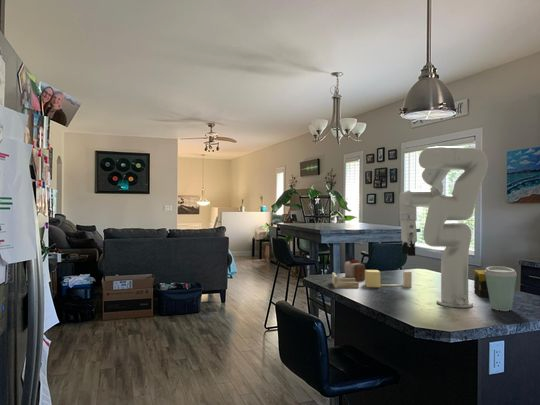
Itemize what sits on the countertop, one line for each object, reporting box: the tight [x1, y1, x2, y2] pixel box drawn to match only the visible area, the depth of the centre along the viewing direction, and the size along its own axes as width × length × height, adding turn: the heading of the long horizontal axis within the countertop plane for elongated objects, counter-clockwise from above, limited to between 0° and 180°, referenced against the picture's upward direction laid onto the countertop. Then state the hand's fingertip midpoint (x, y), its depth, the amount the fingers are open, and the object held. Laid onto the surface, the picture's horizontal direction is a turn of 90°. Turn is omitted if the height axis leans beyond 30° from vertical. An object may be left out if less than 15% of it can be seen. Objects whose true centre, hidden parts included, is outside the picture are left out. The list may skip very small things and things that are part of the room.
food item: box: [343, 259, 366, 282], centre depth 207 cm, size 14×8×10 cm, turn 12°
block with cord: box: [364, 269, 413, 288], centre depth 188 cm, size 6×20×7 cm, turn 86°
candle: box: [473, 269, 490, 299], centre depth 170 cm, size 10×10×10 cm
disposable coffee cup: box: [484, 265, 518, 312], centre depth 147 cm, size 11×11×15 cm
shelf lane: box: [331, 272, 360, 289], centre depth 189 cm, size 11×11×5 cm
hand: (408, 254), depth 187 cm, fingers open, 9 cm apart
